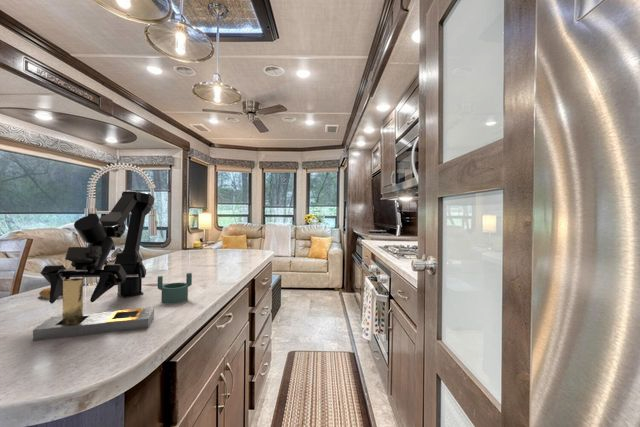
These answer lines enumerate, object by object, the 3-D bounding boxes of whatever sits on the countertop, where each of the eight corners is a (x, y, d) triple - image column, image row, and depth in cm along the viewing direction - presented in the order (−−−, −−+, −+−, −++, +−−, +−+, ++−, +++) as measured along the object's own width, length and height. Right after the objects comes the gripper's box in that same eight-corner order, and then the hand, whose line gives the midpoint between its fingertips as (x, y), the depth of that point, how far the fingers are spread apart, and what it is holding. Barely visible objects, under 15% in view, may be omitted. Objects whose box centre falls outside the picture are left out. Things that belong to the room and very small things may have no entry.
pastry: (32, 298, 103) (32, 287, 103) (53, 293, 109) (53, 283, 109) (54, 300, 101) (54, 289, 101) (74, 295, 108) (74, 284, 108)
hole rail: (32, 340, 70) (32, 329, 70) (51, 326, 79) (51, 316, 78) (148, 328, 79) (148, 317, 78) (154, 316, 87) (154, 307, 87)
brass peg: (79, 325, 79) (80, 277, 79) (84, 329, 77) (85, 279, 77) (60, 330, 76) (60, 280, 76) (64, 334, 74) (65, 282, 74)
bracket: (193, 297, 107) (193, 272, 107) (175, 305, 98) (175, 278, 98) (172, 295, 109) (172, 271, 109) (152, 302, 100) (153, 276, 100)
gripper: (46, 235, 79) (10, 286, 69) (122, 235, 83) (99, 284, 72) (65, 259, 87) (36, 309, 76) (134, 259, 90) (115, 306, 80)
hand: (71, 302), depth 76 cm, fingers open, 9 cm apart
